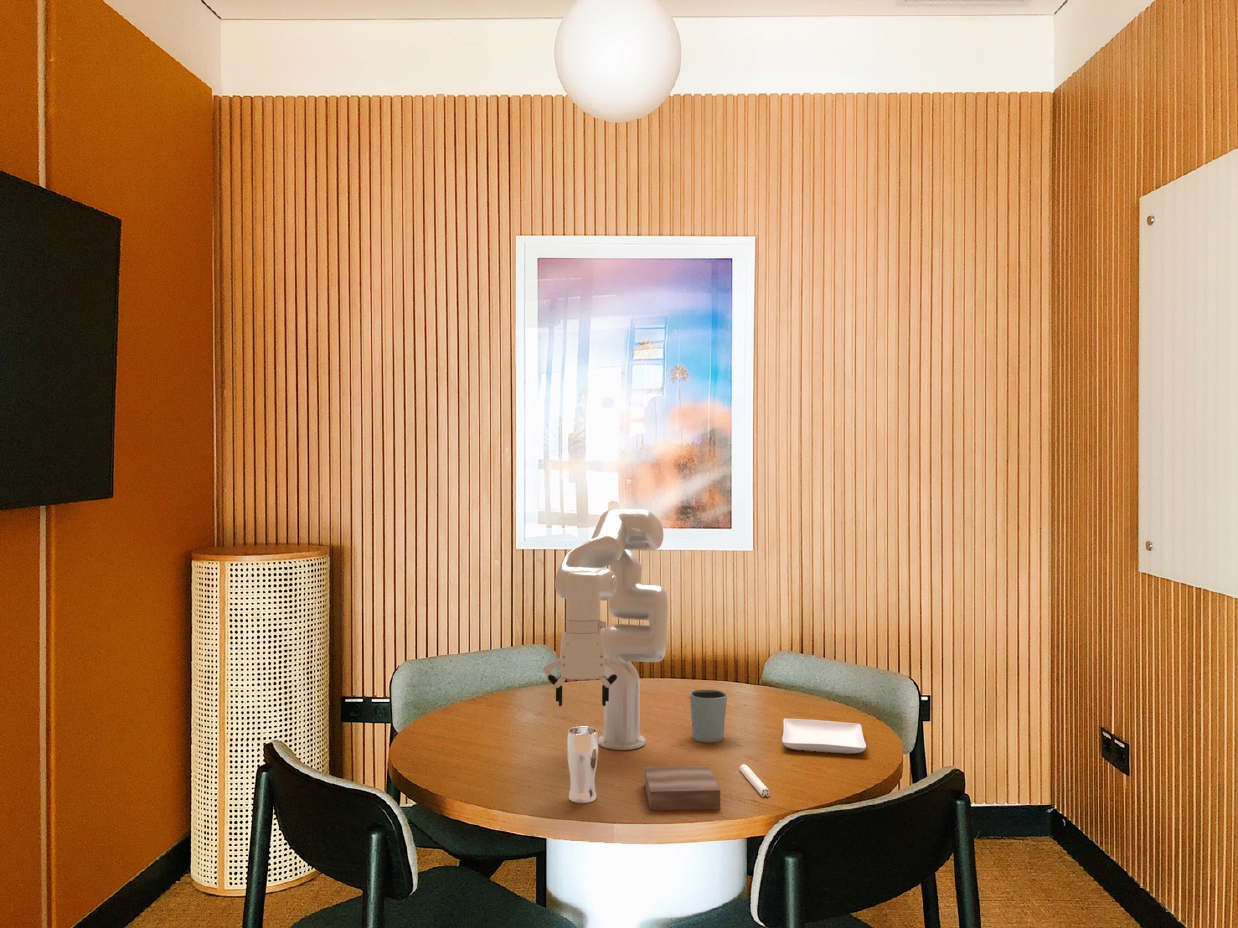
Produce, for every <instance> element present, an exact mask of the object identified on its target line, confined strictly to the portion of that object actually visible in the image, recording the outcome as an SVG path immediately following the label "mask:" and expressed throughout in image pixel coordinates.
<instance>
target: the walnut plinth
mask: <svg viewBox="0 0 1238 928" xmlns="http://www.w3.org/2000/svg"><path fill="white" fill-rule="evenodd" d="M644 787H646V788H645V792H646V797H647V796H648V797H647V800H649V801H648V805H649V808H650V811H675V810H676V811H678V810H679V811H685V810H720V809H721V789H720V787H719V785H718V783H717V780H716V778H715V776H714V774H713V772H712V770H711V768H710V766H709V765H708V766H707V765H706V766H701V765H700V766H654V767H653V766H652V767H651V766H649V767H648V766H646V767H644Z"/></svg>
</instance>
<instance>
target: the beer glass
mask: <svg viewBox="0 0 1238 928" xmlns="http://www.w3.org/2000/svg"><path fill="white" fill-rule="evenodd" d="M598 738H599V735H598V729H597V728H596V727H592V726H587V725H585V726H583V725H581V726H580V725H579V726H574V727H570V728H569V729H567V741H566V758H567V765H568V771H569V772H568V773H569V777H570V787H569V794H568V799H569V801H570V800H571V802H573V803H574V804H589V803H592V802H594V801H595V800H596V799H597V793H596V792H597V791H596V787H595V778H596V777H595V776H596V772H597V766H598V759H599V743H598Z"/></svg>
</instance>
